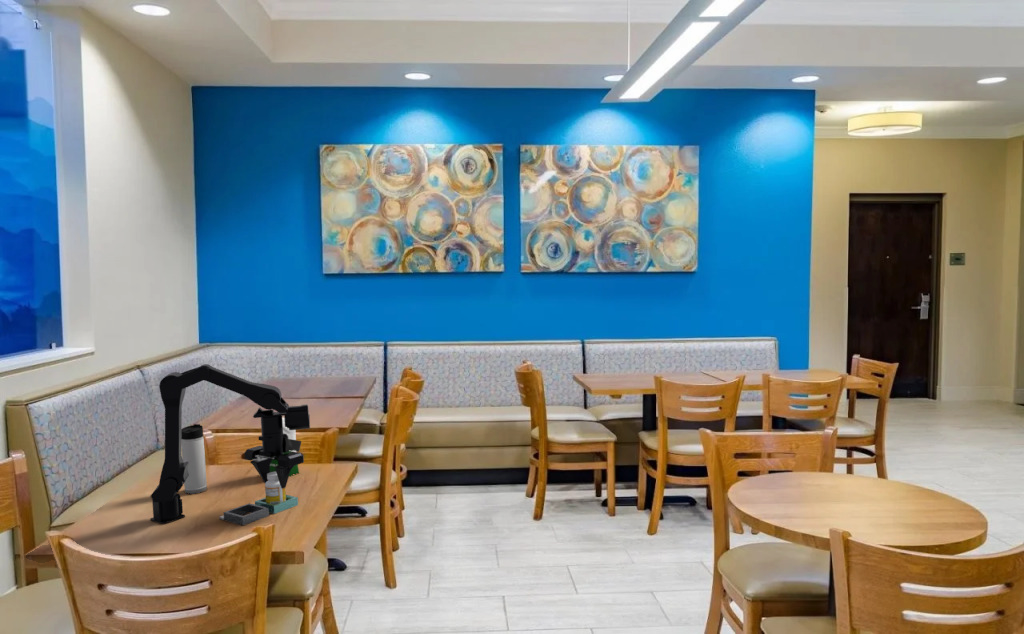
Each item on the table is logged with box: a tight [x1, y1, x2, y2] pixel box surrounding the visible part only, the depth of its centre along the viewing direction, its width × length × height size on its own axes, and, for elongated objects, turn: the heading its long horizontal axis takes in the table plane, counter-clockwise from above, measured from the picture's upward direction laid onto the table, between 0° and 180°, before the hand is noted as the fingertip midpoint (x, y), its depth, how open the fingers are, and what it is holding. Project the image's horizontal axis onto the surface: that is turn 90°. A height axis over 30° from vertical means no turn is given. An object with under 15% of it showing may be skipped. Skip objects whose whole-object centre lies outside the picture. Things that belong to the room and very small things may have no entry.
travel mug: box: [181, 423, 208, 495], centre depth 221 cm, size 6×7×20 cm
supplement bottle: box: [264, 471, 287, 505], centre depth 204 cm, size 5×5×10 cm
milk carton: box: [270, 417, 300, 477], centre depth 235 cm, size 9×9×20 cm
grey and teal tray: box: [218, 494, 299, 526], centre depth 201 cm, size 18×10×2 cm, turn 147°
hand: (275, 486), depth 204 cm, fingers open, 7 cm apart
